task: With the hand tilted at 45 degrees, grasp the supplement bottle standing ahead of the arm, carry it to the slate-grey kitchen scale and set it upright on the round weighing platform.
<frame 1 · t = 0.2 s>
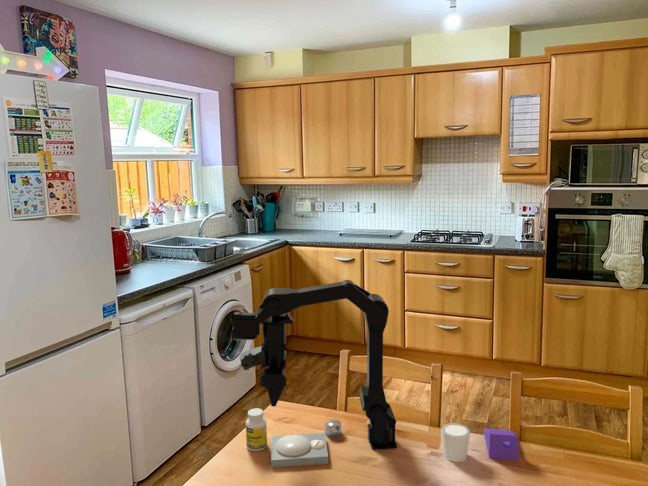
hand: (273, 397, 136), 14 cm above the table, tool pointing down, fingers open, 9 cm apart
white short tapered cylinder: (455, 456, 133), on the table
purple boxy piece: (500, 447, 137), on the table
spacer: (333, 433, 145), on the table
supplement bottle: (257, 446, 140), on the table
scale: (299, 453, 136), on the table
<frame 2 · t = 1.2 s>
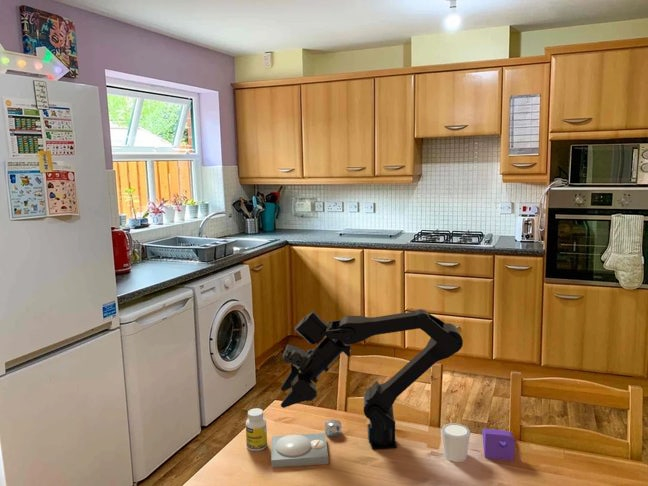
hand: (281, 398, 138), 13 cm above the table, tool tilted 45°, fingers open, 9 cm apart
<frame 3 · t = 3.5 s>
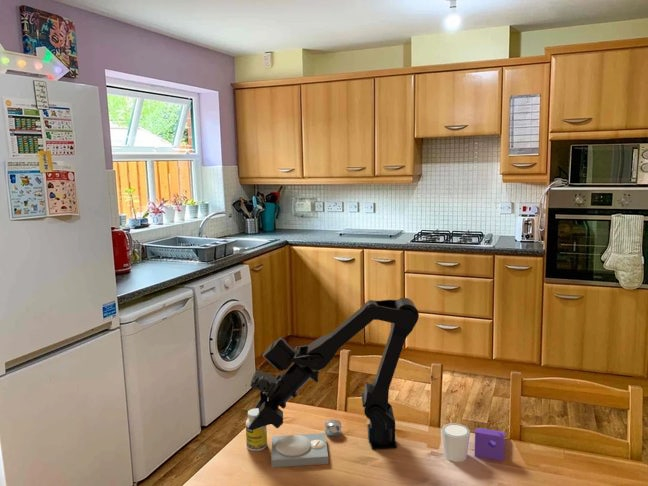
hand: (250, 423, 138), 7 cm above the table, tool tilted 45°, fingers closed on supplement bottle, 5 cm apart
purple boxy piece: (490, 447, 137), on the table
supplement bottle: (257, 446, 140), on the table, touching gripper
everything else where it was.
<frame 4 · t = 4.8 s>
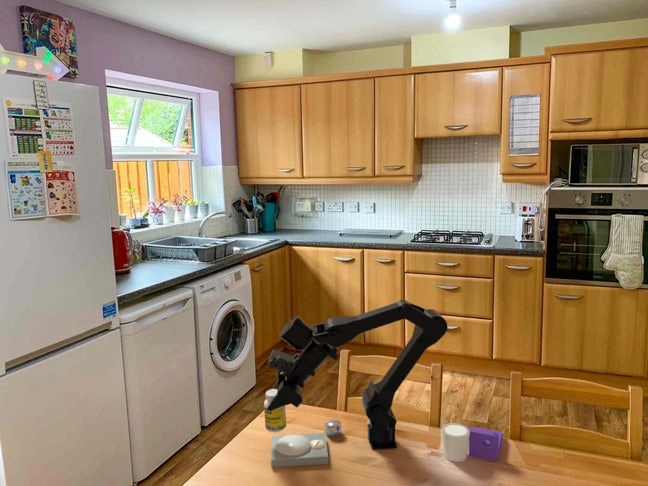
hand: (269, 404, 136), 13 cm above the table, tool tilted 45°, fingers closed on supplement bottle, 5 cm apart
purple boxy piece: (486, 447, 137), on the table
supplement bottle: (276, 428, 137), point 6 cm above the table, touching gripper
everything else where it was.
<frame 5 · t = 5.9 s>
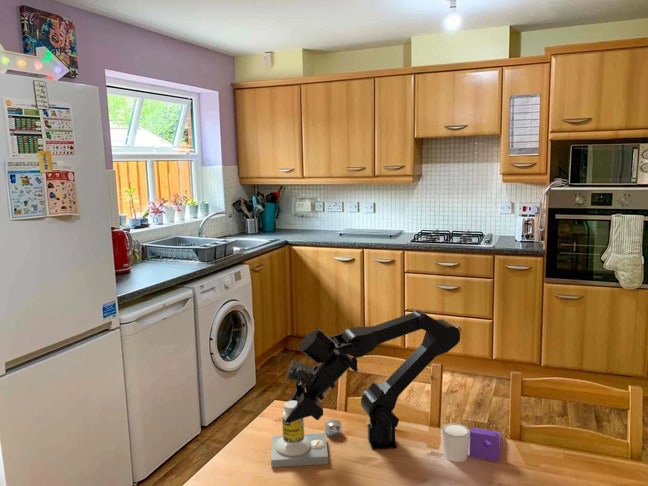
hand: (287, 415, 134), 10 cm above the table, tool tilted 45°, fingers closed on supplement bottle, 5 cm apart
supplement bottle: (293, 440, 135), point 4 cm above the table, touching gripper
everything else where it was.
when the fingers open (10 cm above the table, at t = 6.0 s): supplement bottle drops 1 cm, resting on scale.
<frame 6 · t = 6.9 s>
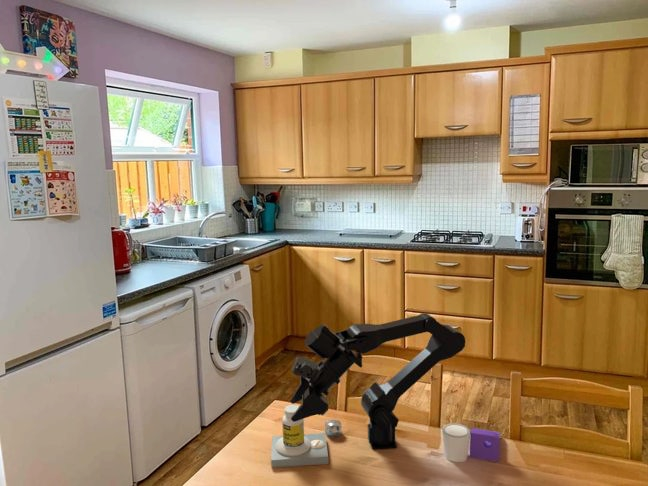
hand: (291, 411, 134), 11 cm above the table, tool tilted 45°, fingers open, 9 cm apart
supplement bottle: (293, 444, 136), point 2 cm above the table, touching scale
everything else where it was.
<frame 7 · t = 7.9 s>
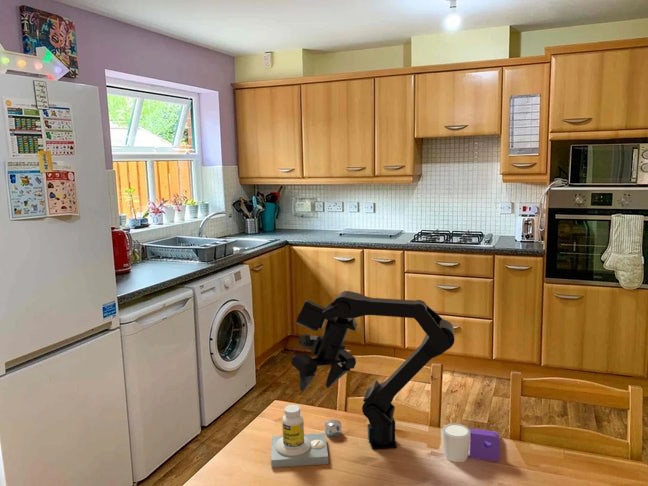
hand: (314, 388, 142), 14 cm above the table, tool tilted 20°, fingers open, 9 cm apart
nothing on the table moved.
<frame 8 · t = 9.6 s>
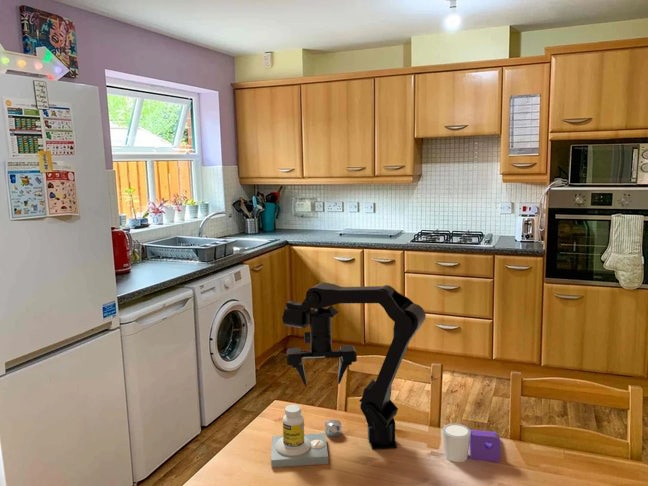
hand: (322, 384, 145), 13 cm above the table, tool pointing down, fingers open, 9 cm apart
at the end: supplement bottle inside the target area on the scale (0.2 cm from its centre), point 2.4 cm above the scale's base; supplement bottle tilted 1°; the gripper is holding nothing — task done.
